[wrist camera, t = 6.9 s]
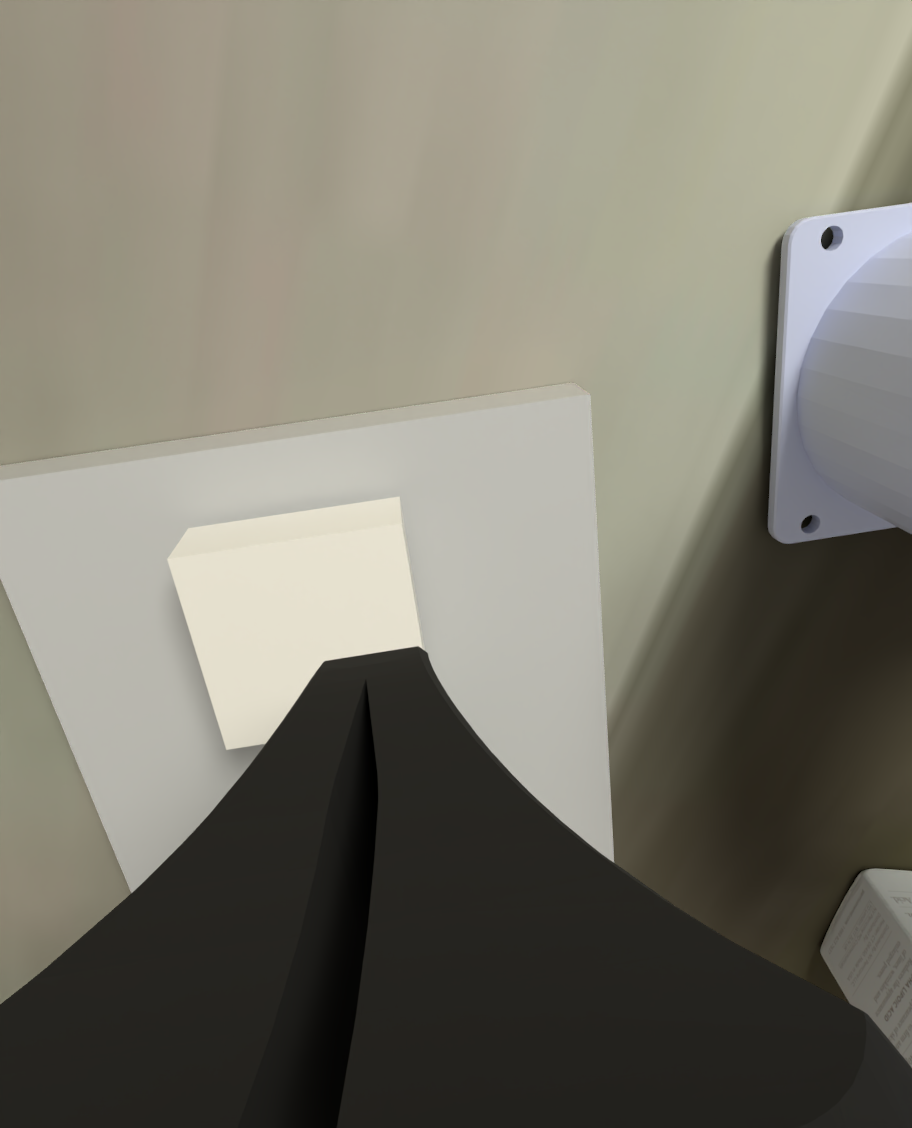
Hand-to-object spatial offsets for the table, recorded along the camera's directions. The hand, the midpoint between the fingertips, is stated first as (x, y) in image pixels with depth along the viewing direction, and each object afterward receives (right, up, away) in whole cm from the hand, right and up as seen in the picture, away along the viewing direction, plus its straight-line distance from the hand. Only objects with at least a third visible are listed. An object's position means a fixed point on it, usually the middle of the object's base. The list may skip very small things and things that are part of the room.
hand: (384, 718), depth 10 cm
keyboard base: (-2, -5, +13) cm, 14 cm away
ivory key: (-3, +2, +9) cm, 10 cm away
